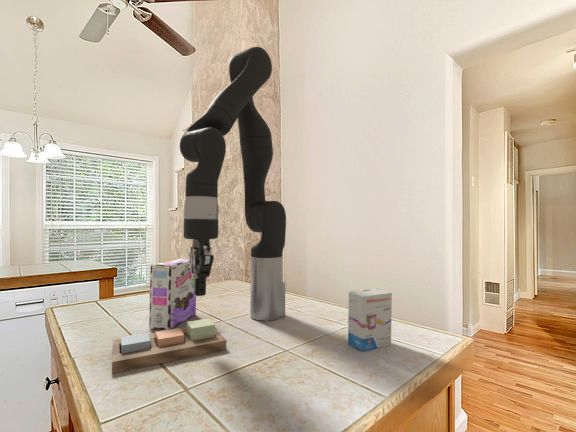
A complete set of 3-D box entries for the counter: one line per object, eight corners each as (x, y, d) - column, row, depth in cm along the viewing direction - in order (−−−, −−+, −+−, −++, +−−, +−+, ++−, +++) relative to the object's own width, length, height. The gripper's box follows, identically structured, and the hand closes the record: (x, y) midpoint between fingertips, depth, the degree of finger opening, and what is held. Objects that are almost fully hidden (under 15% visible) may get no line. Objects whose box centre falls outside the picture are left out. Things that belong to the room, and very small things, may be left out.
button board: (210, 332, 75) (211, 323, 75) (226, 349, 65) (226, 340, 65) (112, 349, 65) (112, 339, 65) (111, 373, 54) (112, 362, 54)
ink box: (362, 352, 63) (362, 295, 63) (347, 344, 67) (347, 290, 68) (392, 345, 67) (392, 291, 67) (376, 337, 71) (376, 287, 72)
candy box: (169, 331, 76) (170, 264, 76) (148, 329, 77) (149, 264, 77) (196, 314, 89) (197, 258, 90) (178, 313, 90) (179, 258, 91)
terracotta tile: (179, 341, 68) (179, 327, 68) (183, 349, 64) (184, 334, 64) (155, 345, 66) (155, 331, 66) (158, 354, 61) (158, 339, 61)
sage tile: (208, 331, 71) (208, 318, 71) (214, 338, 67) (214, 324, 67) (186, 335, 69) (186, 321, 69) (191, 342, 64) (191, 328, 64)
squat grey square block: (147, 347, 65) (147, 332, 65) (149, 355, 60) (150, 340, 61) (120, 351, 62) (121, 337, 62) (121, 361, 58) (121, 345, 58)
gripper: (226, 217, 65) (225, 299, 64) (210, 218, 76) (209, 288, 76) (190, 216, 61) (188, 303, 60) (178, 217, 72) (177, 291, 72)
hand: (200, 295), depth 68 cm, fingers closed
